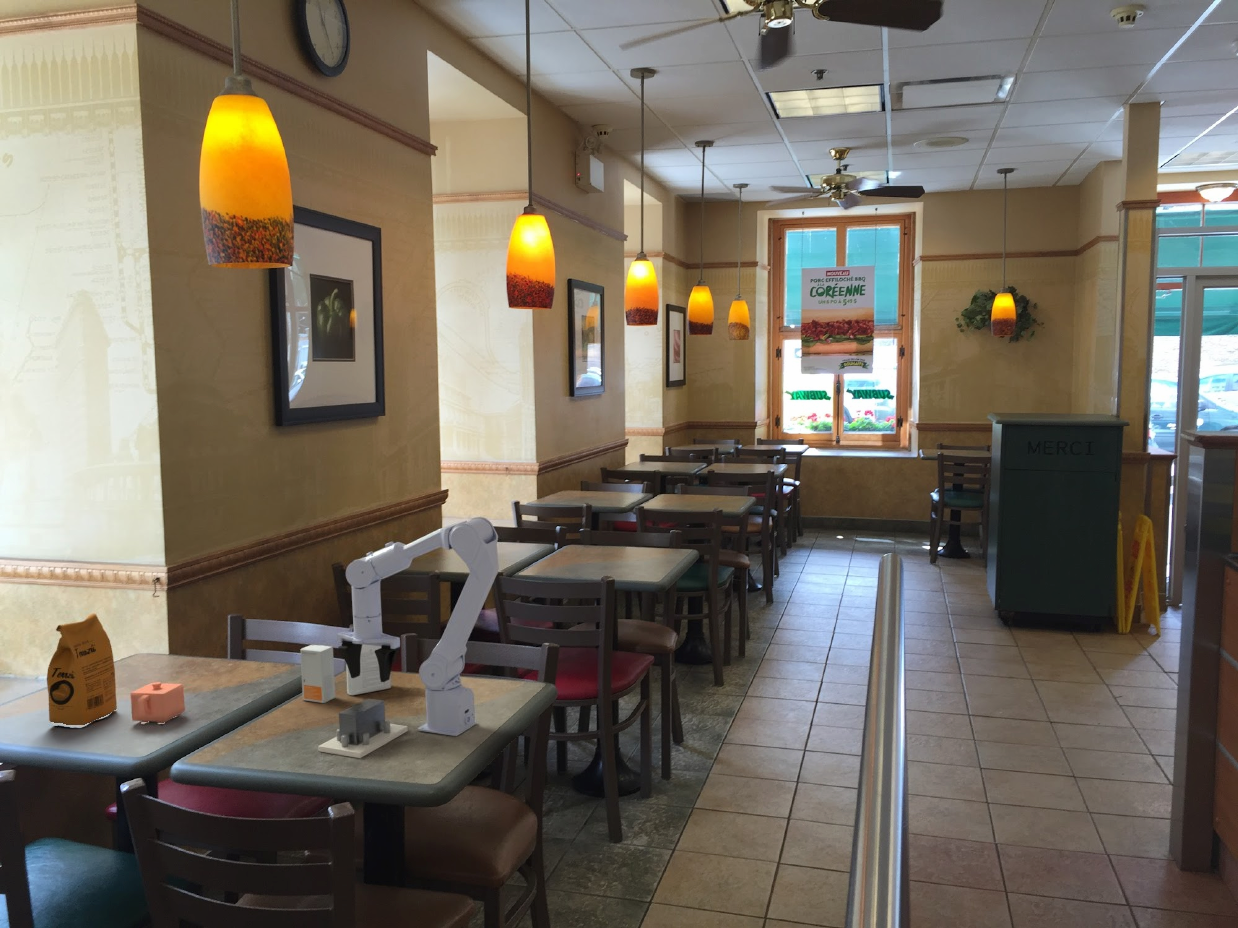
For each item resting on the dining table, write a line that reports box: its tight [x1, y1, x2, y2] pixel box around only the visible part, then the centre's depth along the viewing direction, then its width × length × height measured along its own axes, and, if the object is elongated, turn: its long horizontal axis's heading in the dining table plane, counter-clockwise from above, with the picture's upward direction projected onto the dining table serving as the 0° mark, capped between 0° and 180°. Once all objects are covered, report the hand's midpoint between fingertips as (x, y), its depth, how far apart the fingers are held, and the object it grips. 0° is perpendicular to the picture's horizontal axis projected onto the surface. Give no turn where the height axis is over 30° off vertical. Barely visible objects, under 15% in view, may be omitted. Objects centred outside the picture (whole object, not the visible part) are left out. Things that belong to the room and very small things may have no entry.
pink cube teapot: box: [129, 681, 186, 724], centre depth 205 cm, size 8×12×8 cm, turn 170°
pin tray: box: [317, 721, 408, 759], centre depth 190 cm, size 10×15×3 cm, turn 156°
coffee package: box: [46, 613, 118, 725], centre depth 206 cm, size 10×12×22 cm
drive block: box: [338, 698, 386, 746], centre depth 190 cm, size 4×9×6 cm, turn 157°
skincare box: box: [299, 644, 336, 704], centre depth 216 cm, size 6×4×12 cm
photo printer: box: [345, 644, 392, 696], centre depth 221 cm, size 10×4×12 cm, turn 123°
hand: (370, 678), depth 200 cm, fingers open, 7 cm apart
